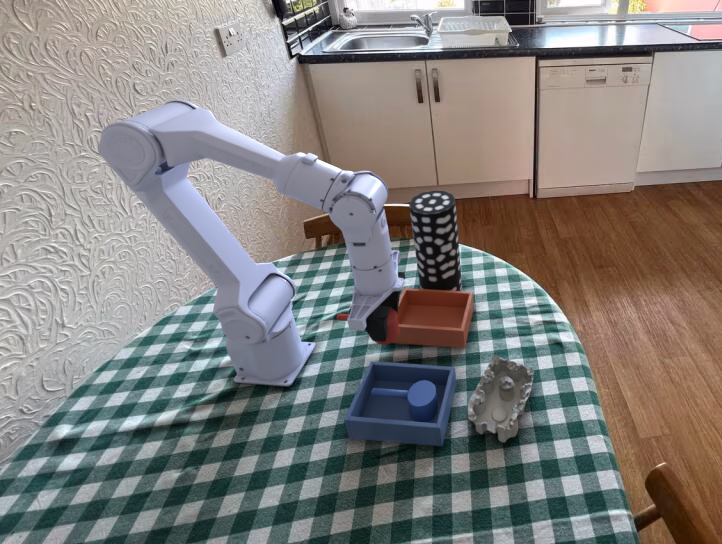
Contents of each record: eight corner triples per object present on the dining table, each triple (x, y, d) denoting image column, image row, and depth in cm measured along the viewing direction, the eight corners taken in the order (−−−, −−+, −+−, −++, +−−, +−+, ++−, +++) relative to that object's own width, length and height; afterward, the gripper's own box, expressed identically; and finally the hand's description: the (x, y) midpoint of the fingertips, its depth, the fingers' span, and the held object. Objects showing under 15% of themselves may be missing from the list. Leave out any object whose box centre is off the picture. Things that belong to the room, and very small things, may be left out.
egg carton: (512, 450, 56) (511, 431, 54) (463, 428, 58) (461, 409, 56) (538, 382, 64) (538, 364, 63) (494, 366, 67) (494, 348, 65)
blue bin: (348, 438, 57) (343, 420, 55) (374, 378, 65) (370, 360, 64) (442, 446, 56) (440, 428, 54) (456, 384, 64) (454, 366, 63)
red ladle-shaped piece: (334, 341, 63) (329, 324, 62) (346, 321, 67) (342, 304, 65) (394, 345, 62) (391, 328, 61) (403, 324, 66) (400, 308, 65)
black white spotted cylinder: (428, 271, 88) (418, 189, 79) (466, 274, 87) (460, 191, 78) (414, 299, 81) (402, 212, 72) (456, 303, 79) (448, 215, 71)
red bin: (389, 343, 72) (386, 326, 70) (406, 303, 80) (404, 287, 78) (464, 348, 70) (463, 331, 69) (474, 307, 79) (473, 291, 77)
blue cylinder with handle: (369, 418, 59) (365, 402, 58) (379, 392, 63) (376, 376, 61) (434, 424, 58) (431, 407, 57) (440, 397, 62) (438, 381, 60)
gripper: (378, 295, 51) (393, 371, 57) (414, 228, 64) (423, 295, 70) (324, 292, 52) (344, 367, 58) (371, 226, 65) (383, 292, 71)
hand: (385, 327), depth 64 cm, fingers closed on red ladle-shaped piece, 4 cm apart
